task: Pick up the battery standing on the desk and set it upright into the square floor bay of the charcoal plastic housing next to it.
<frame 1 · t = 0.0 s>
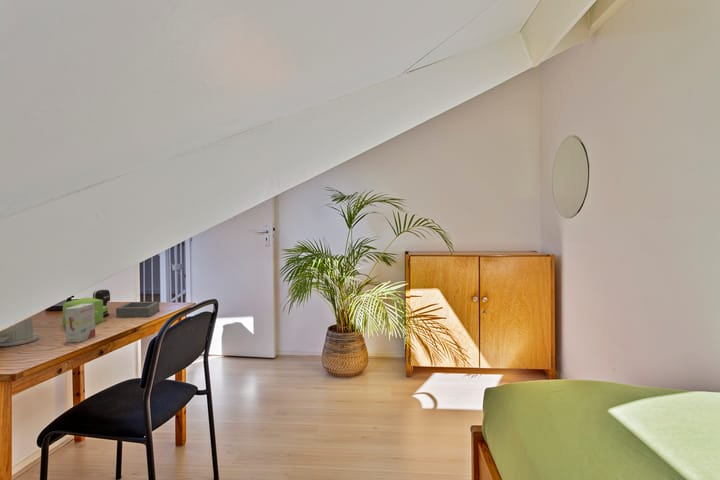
hand: (84, 242, 181), 31 cm above the table, tool pointing down, fingers open, 9 cm apart
ink box: (81, 339, 141), on the table
lime green rounded box: (83, 325, 160), on the table
battery: (102, 317, 173), on the table
housing: (138, 313, 179), on the table
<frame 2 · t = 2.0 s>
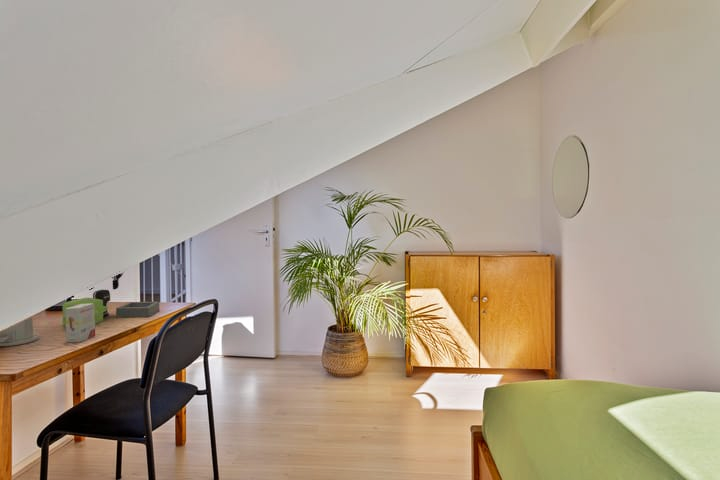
hand: (103, 289, 173), 12 cm above the table, tool pointing down, fingers open, 9 cm apart
nothing on the table moved.
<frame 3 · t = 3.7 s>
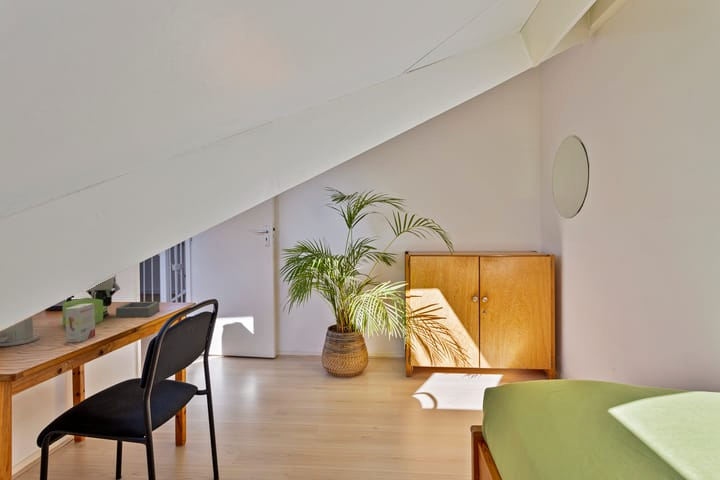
hand: (102, 305, 173), 5 cm above the table, tool pointing down, fingers closed on battery, 4 cm apart
battery: (102, 317, 173), on the table, touching gripper
everything else where it was.
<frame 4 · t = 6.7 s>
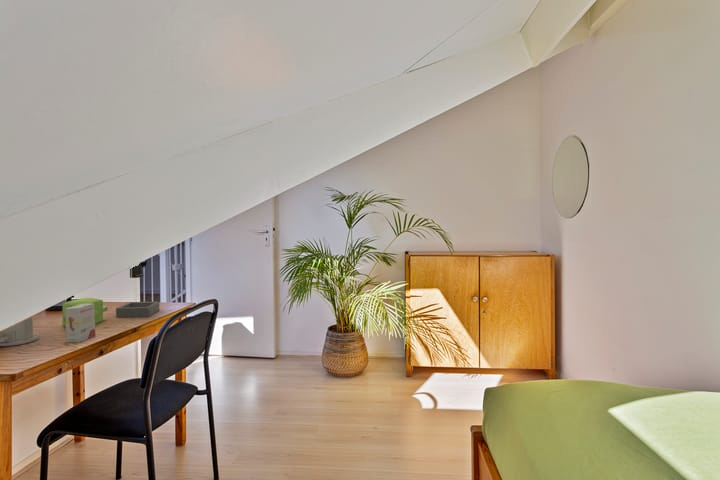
hand: (137, 266, 178), 21 cm above the table, tool pointing down, fingers closed on battery, 4 cm apart
battery: (137, 277, 178), point 16 cm above the table, touching gripper
everything else where it was.
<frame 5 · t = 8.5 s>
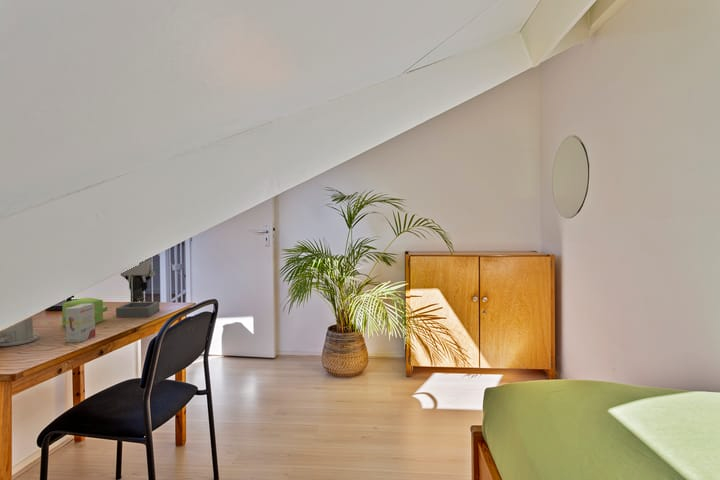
hand: (138, 290, 178), 11 cm above the table, tool pointing down, fingers closed on battery, 4 cm apart
battery: (138, 301, 179), point 6 cm above the table, touching gripper
everything else where it was.
when the fingers open (7 cm above the table, at t = 9.9 s): battery stays where it is, resting on housing.
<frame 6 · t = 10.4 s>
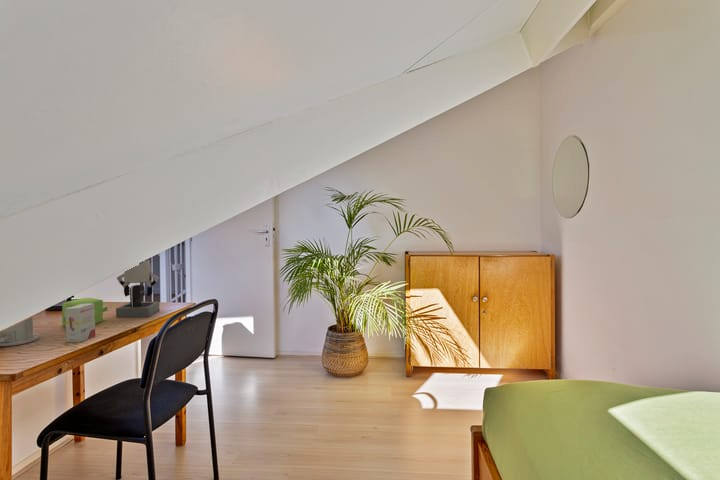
hand: (138, 295, 178), 8 cm above the table, tool pointing down, fingers open, 8 cm apart
battery: (138, 311, 179), point 1 cm above the table, touching housing
everything else where it was.
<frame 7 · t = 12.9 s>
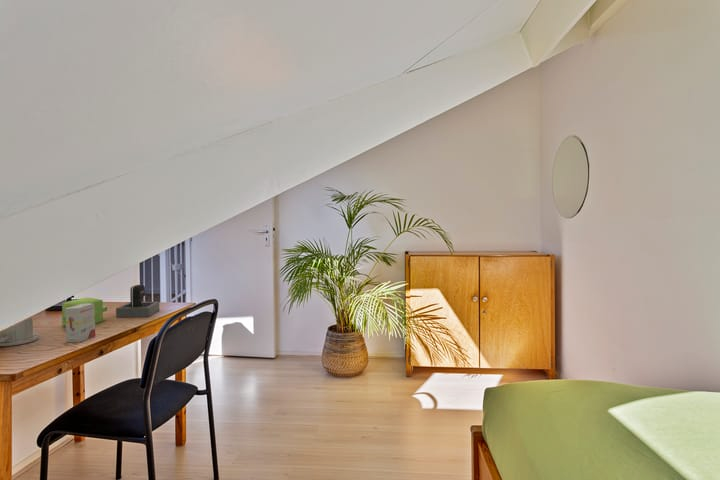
hand: (128, 258, 176), 25 cm above the table, tool pointing down, fingers open, 9 cm apart
nothing on the table moved.
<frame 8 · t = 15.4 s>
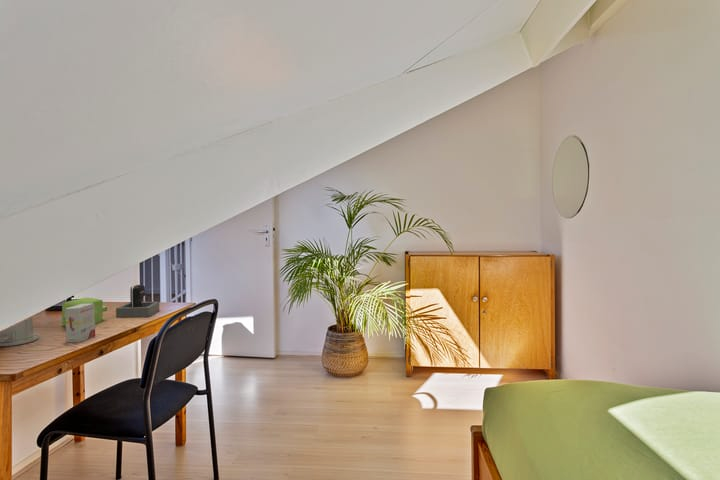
hand: (56, 246, 163), 30 cm above the table, tool pointing down, fingers open, 9 cm apart
nothing on the table moved.
at the end: battery 0.2 cm off-centre on the housing, point 1.1 cm above the housing's base; battery tilted 0°; the gripper is holding nothing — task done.
